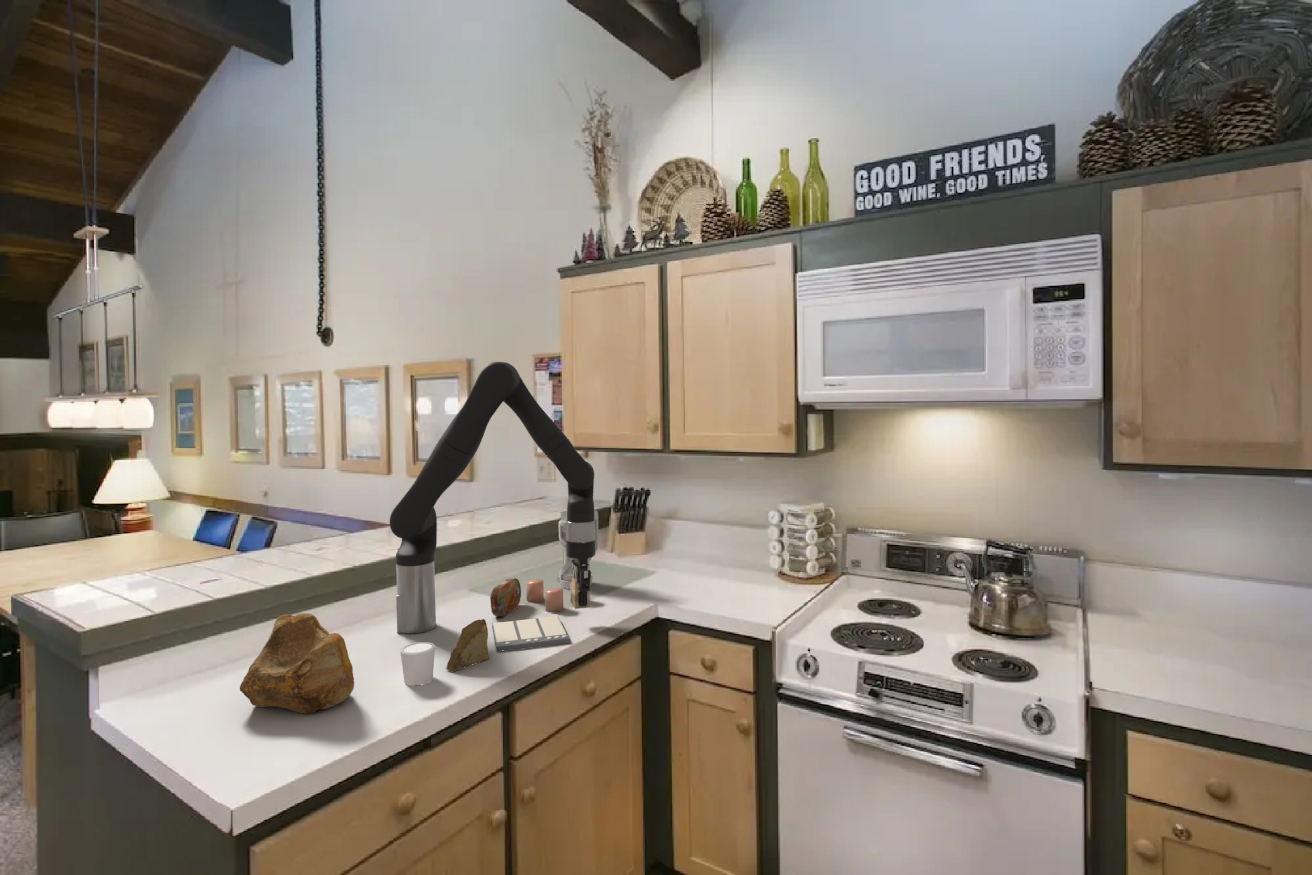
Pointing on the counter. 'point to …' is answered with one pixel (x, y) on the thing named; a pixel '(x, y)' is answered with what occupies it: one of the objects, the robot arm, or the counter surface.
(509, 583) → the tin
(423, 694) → the counter surface
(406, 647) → the white cup
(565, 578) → the lantern
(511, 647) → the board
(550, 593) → the peach dome knob
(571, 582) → the cylinder
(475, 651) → the rock
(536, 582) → the peach rounded cylinder
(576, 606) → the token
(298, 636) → the brown rough lump
